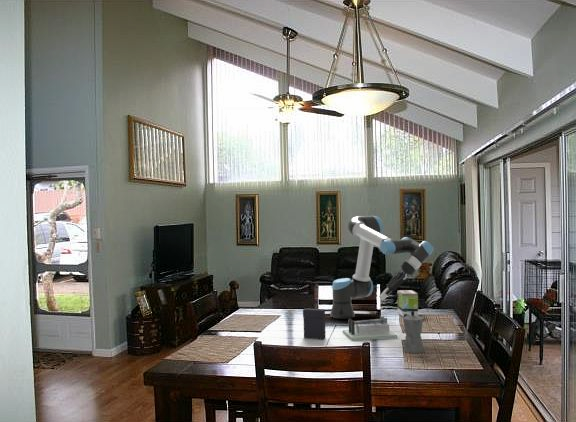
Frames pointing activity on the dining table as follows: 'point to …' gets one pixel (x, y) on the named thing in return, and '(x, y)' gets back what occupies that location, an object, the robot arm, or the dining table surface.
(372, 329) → the knife switch
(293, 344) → the dining table surface
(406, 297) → the tea box
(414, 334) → the coffeepot
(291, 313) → the dining table surface
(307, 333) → the calculator
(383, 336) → the board
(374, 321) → the lever
